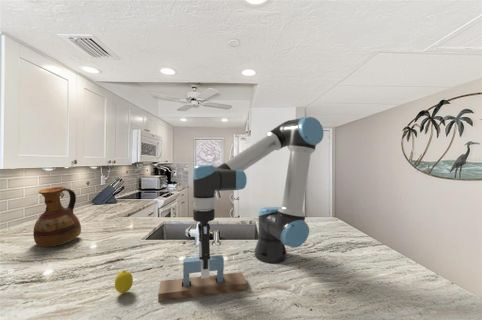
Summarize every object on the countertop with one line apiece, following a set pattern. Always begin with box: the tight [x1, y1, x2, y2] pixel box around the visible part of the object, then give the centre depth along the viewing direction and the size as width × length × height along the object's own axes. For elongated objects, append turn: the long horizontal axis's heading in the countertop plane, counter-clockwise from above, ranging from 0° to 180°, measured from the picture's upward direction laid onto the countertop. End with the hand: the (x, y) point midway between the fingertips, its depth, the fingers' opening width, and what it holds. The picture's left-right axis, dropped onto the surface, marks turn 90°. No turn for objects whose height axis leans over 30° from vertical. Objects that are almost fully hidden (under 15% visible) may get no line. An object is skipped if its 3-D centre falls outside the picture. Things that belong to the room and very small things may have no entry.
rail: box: [157, 272, 248, 302], centre depth 84 cm, size 30×8×2 cm, turn 103°
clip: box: [182, 254, 225, 287], centre depth 84 cm, size 14×3×11 cm, turn 103°
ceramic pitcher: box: [32, 186, 82, 247], centre depth 126 cm, size 20×20×30 cm
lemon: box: [114, 270, 134, 295], centre depth 81 cm, size 6×6×8 cm
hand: (203, 267), depth 84 cm, fingers open, 13 cm apart
